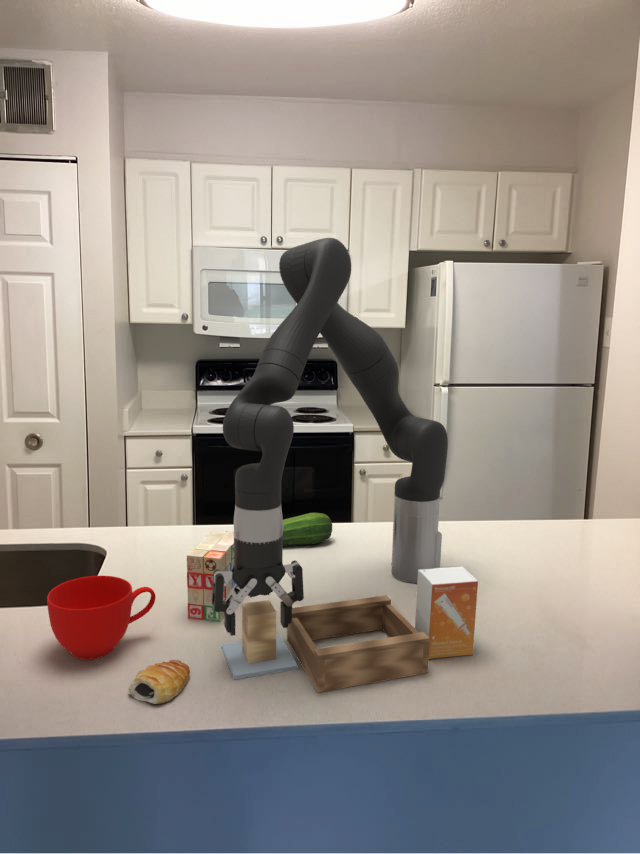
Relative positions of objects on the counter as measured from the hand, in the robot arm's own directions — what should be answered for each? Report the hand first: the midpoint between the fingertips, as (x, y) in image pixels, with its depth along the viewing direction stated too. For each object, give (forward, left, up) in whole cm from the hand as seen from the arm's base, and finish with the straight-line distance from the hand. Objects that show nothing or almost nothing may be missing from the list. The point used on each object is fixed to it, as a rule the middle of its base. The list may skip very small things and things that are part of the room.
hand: (258, 629), depth 109 cm
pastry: (+16, +4, -5) cm, 17 cm away
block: (0, 0, -4) cm, 4 cm away
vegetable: (-19, -47, -5) cm, 51 cm away
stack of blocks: (+1, -25, -5) cm, 25 cm away
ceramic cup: (+23, -11, -5) cm, 26 cm away
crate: (-15, +4, -5) cm, 16 cm away
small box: (-30, +6, -5) cm, 31 cm away
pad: (0, 0, -5) cm, 5 cm away
